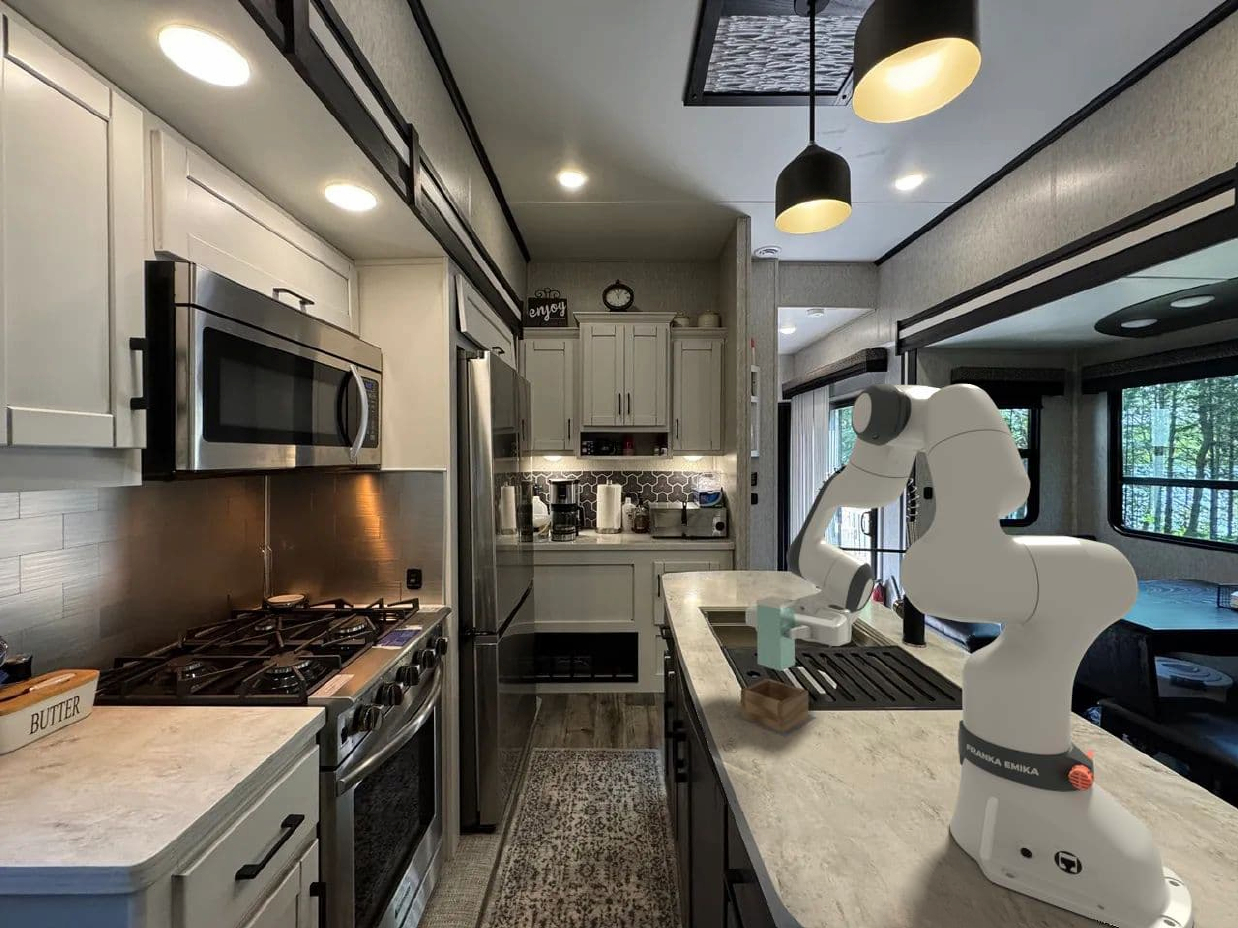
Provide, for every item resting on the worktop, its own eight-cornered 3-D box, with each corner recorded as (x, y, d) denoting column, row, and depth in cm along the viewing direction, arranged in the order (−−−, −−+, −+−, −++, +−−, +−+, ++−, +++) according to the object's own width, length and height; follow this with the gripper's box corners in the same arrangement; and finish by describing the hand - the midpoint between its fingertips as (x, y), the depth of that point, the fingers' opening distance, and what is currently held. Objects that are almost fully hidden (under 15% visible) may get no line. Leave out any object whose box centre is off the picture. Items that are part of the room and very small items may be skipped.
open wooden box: (808, 717, 104) (808, 690, 104) (783, 732, 98) (782, 704, 98) (767, 702, 111) (767, 677, 111) (740, 716, 105) (740, 689, 105)
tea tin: (795, 664, 105) (795, 600, 105) (780, 671, 101) (780, 604, 101) (771, 657, 108) (771, 595, 109) (756, 663, 105) (756, 600, 105)
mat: (816, 719, 104) (816, 717, 104) (785, 738, 97) (785, 736, 97) (765, 701, 112) (765, 699, 112) (733, 718, 105) (733, 716, 105)
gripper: (766, 594, 121) (728, 604, 112) (858, 611, 106) (823, 624, 97) (766, 623, 121) (728, 635, 112) (858, 644, 106) (823, 660, 97)
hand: (773, 630), depth 104 cm, fingers closed on tea tin, 5 cm apart
